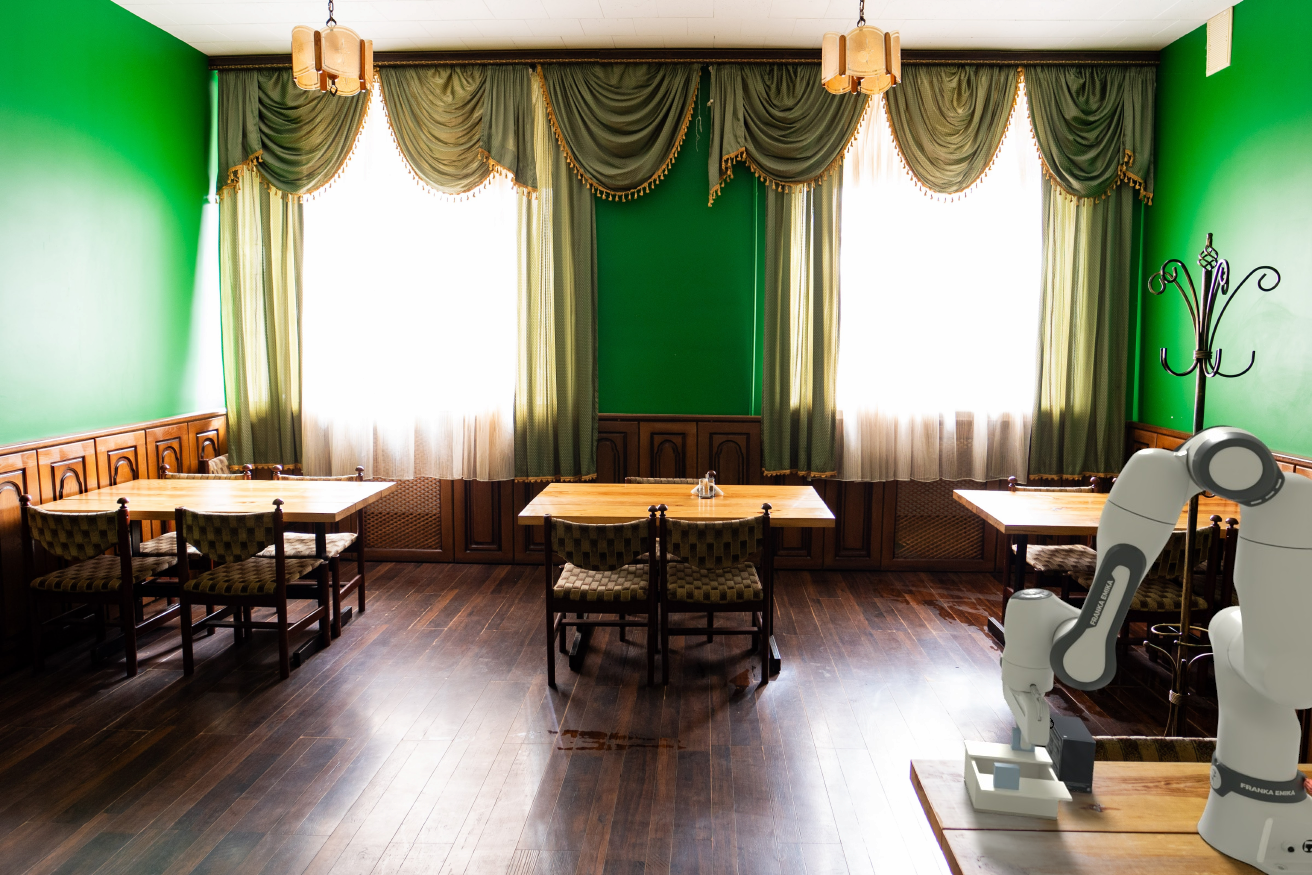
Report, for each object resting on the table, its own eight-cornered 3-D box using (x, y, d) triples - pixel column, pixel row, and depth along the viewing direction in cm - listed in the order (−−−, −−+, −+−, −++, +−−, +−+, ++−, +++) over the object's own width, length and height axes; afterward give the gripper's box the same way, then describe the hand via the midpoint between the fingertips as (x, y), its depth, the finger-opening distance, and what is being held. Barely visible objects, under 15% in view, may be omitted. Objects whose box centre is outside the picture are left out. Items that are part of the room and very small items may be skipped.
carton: (1041, 786, 156) (1043, 752, 155) (1057, 819, 145) (1059, 783, 144) (964, 778, 159) (965, 744, 158) (974, 810, 148) (976, 774, 147)
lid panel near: (1062, 784, 144) (1064, 760, 143) (1072, 801, 138) (1073, 776, 138) (975, 775, 146) (976, 751, 146) (981, 791, 141) (982, 767, 141)
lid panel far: (1044, 749, 155) (1046, 727, 155) (1052, 764, 150) (1053, 741, 149) (963, 742, 158) (964, 720, 158) (968, 756, 153) (969, 733, 152)
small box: (1094, 794, 153) (1098, 741, 152) (1057, 790, 155) (1060, 738, 153) (1077, 765, 164) (1081, 716, 162) (1042, 762, 165) (1045, 713, 164)
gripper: (1061, 700, 142) (1056, 774, 144) (1031, 654, 162) (1027, 720, 164) (1022, 697, 143) (1018, 770, 145) (997, 652, 163) (994, 718, 165)
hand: (1023, 743), depth 154 cm, fingers closed on lid panel far
